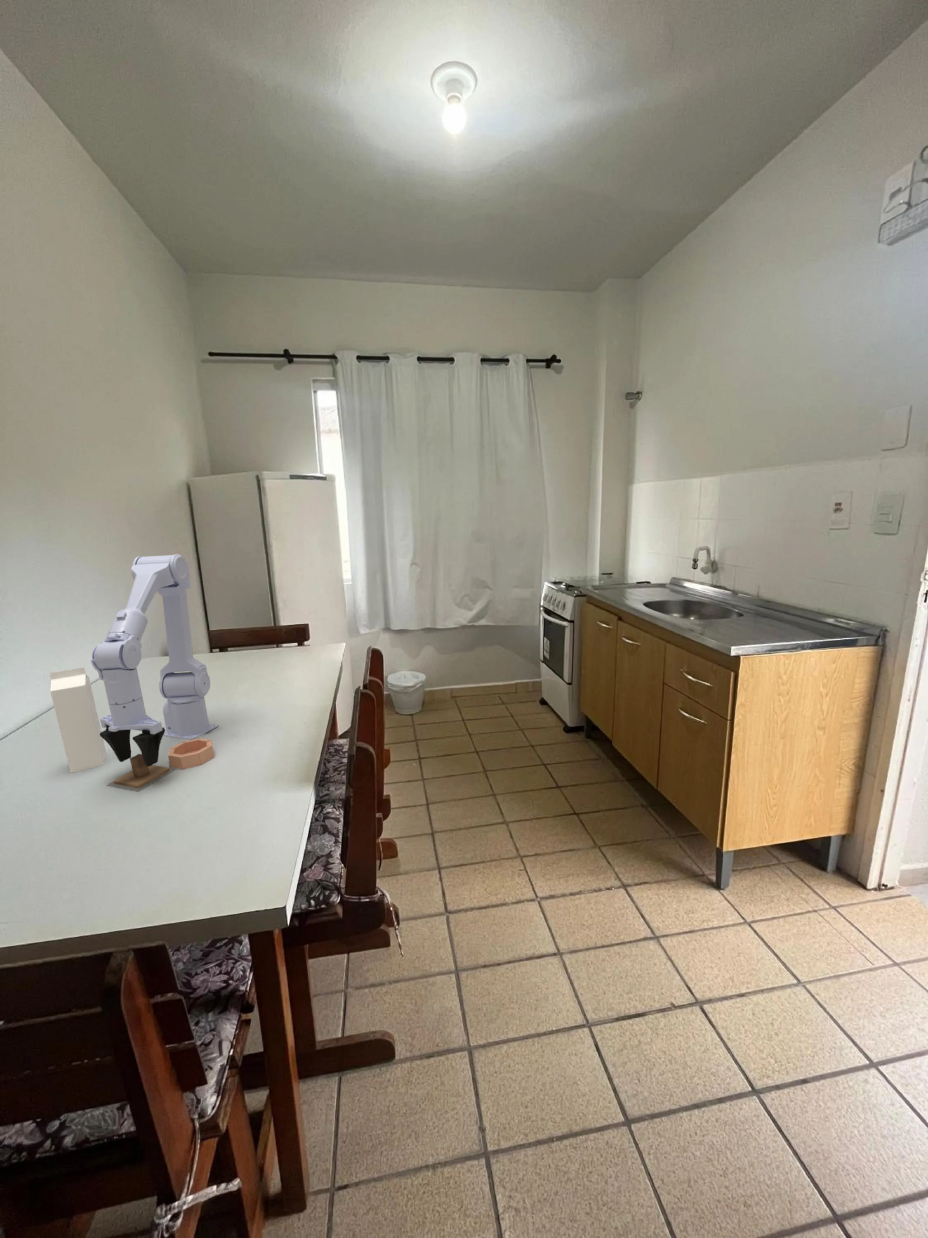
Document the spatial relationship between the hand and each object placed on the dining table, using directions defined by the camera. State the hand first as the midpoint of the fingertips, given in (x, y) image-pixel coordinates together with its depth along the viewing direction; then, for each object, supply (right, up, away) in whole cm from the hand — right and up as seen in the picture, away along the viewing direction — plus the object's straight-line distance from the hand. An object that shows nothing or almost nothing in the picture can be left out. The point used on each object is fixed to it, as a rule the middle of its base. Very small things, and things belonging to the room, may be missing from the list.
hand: (138, 761), depth 105 cm
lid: (0, -3, +1) cm, 4 cm away
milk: (-16, -3, +8) cm, 19 cm away
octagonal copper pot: (+7, -2, +8) cm, 11 cm away
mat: (0, -4, +1) cm, 4 cm away
